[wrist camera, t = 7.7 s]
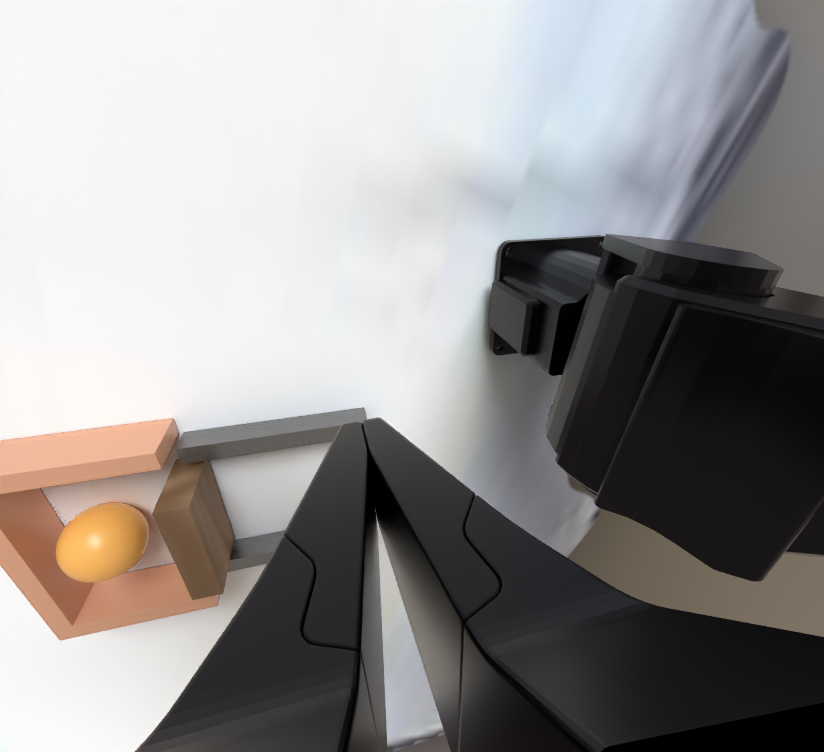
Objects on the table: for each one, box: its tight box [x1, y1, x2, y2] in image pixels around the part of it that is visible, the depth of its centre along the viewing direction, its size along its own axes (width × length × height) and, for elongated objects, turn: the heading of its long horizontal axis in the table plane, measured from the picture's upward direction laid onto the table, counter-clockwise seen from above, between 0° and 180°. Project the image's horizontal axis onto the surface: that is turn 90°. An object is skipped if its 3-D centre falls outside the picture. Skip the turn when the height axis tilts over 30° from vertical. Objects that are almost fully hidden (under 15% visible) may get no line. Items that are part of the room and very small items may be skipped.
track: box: [176, 408, 367, 572], centre depth 24 cm, size 10×10×2 cm
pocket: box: [0, 418, 220, 640], centre depth 22 cm, size 8×12×3 cm
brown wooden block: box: [152, 459, 234, 600], centre depth 22 cm, size 2×7×4 cm, turn 1°
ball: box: [56, 503, 149, 583], centre depth 21 cm, size 4×4×4 cm
